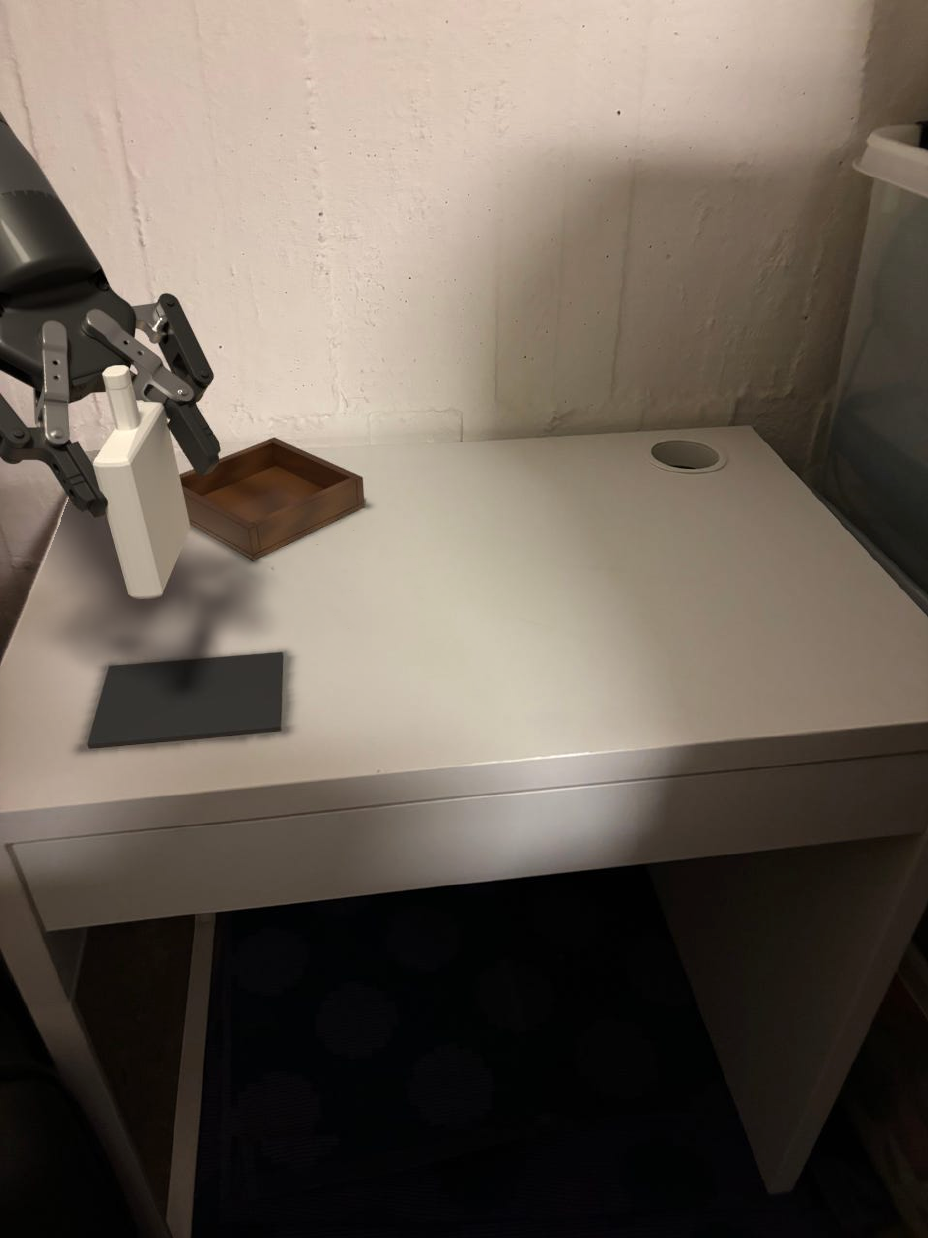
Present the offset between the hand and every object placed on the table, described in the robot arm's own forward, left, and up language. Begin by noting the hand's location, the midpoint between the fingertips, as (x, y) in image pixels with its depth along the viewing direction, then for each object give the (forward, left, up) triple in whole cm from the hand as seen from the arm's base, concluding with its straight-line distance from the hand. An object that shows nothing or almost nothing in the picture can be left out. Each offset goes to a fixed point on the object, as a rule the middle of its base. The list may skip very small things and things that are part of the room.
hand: (159, 488), depth 52 cm
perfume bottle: (0, +2, -6) cm, 6 cm away
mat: (0, +2, -16) cm, 16 cm away
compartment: (+20, +19, -16) cm, 32 cm away
